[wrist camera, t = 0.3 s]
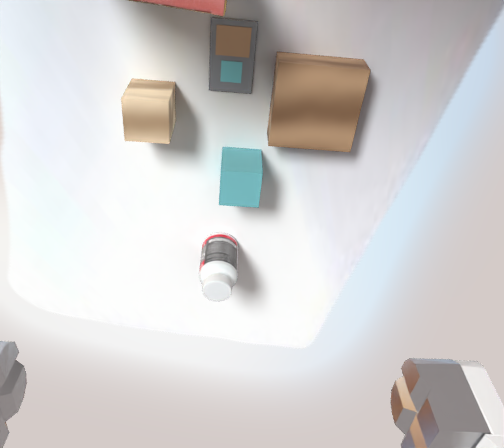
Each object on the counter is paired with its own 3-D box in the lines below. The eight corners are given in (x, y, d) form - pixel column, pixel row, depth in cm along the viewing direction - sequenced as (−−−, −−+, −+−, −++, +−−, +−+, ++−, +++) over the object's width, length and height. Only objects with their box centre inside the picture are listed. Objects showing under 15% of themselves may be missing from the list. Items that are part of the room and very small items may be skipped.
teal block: (222, 146, 59) (220, 170, 54) (261, 149, 59) (262, 173, 54) (220, 179, 62) (218, 204, 57) (257, 182, 62) (258, 207, 57)
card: (211, 17, 49) (211, 18, 49) (257, 21, 50) (257, 22, 49) (209, 89, 54) (208, 90, 54) (250, 92, 54) (251, 94, 54)
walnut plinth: (276, 50, 52) (278, 62, 49) (362, 58, 52) (370, 70, 49) (267, 131, 58) (268, 145, 55) (344, 137, 59) (350, 152, 55)
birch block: (132, 78, 53) (121, 98, 48) (175, 81, 54) (168, 102, 49) (134, 118, 56) (124, 140, 51) (175, 121, 57) (169, 144, 52)
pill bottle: (198, 234, 67) (192, 281, 60) (233, 227, 67) (231, 274, 59) (208, 260, 71) (203, 308, 63) (241, 254, 70) (241, 302, 62)
